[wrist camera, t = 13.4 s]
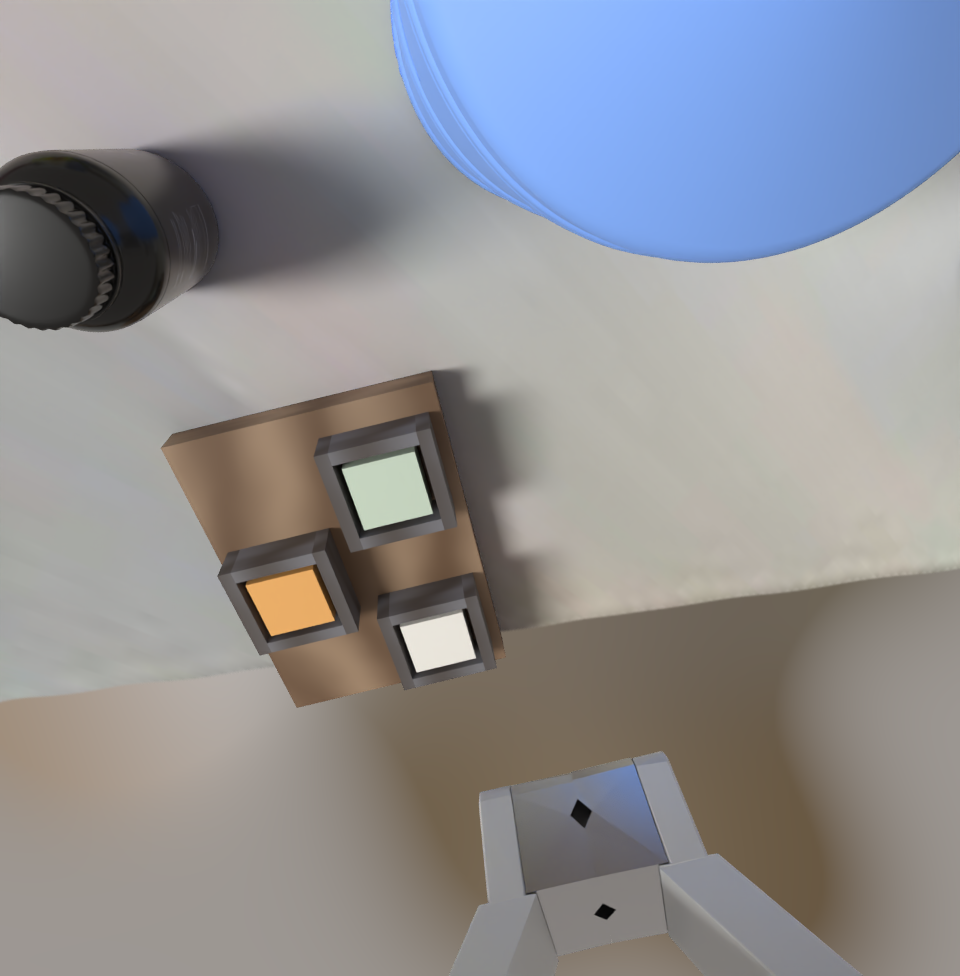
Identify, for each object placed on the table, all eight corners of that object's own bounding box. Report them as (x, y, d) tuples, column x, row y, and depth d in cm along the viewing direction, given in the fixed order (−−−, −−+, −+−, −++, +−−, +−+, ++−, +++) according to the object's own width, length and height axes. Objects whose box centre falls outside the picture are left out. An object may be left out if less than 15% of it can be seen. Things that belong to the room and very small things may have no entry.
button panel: (431, 370, 37) (434, 397, 33) (502, 638, 48) (511, 682, 44) (172, 434, 37) (144, 467, 33) (300, 687, 48) (291, 735, 44)
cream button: (459, 593, 42) (462, 612, 41) (473, 638, 44) (475, 658, 43) (399, 607, 42) (400, 627, 41) (415, 651, 44) (416, 672, 43)
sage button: (413, 437, 37) (414, 451, 35) (431, 497, 39) (432, 513, 37) (344, 453, 37) (341, 469, 35) (366, 513, 39) (364, 530, 37)
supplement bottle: (120, 114, 30) (-34, 95, 19) (247, 218, 32) (173, 252, 22) (52, 230, 32) (-121, 271, 21) (177, 319, 34) (78, 395, 24)
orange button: (316, 550, 40) (312, 569, 38) (337, 600, 42) (334, 620, 40) (252, 566, 40) (245, 585, 38) (276, 615, 42) (271, 636, 40)
